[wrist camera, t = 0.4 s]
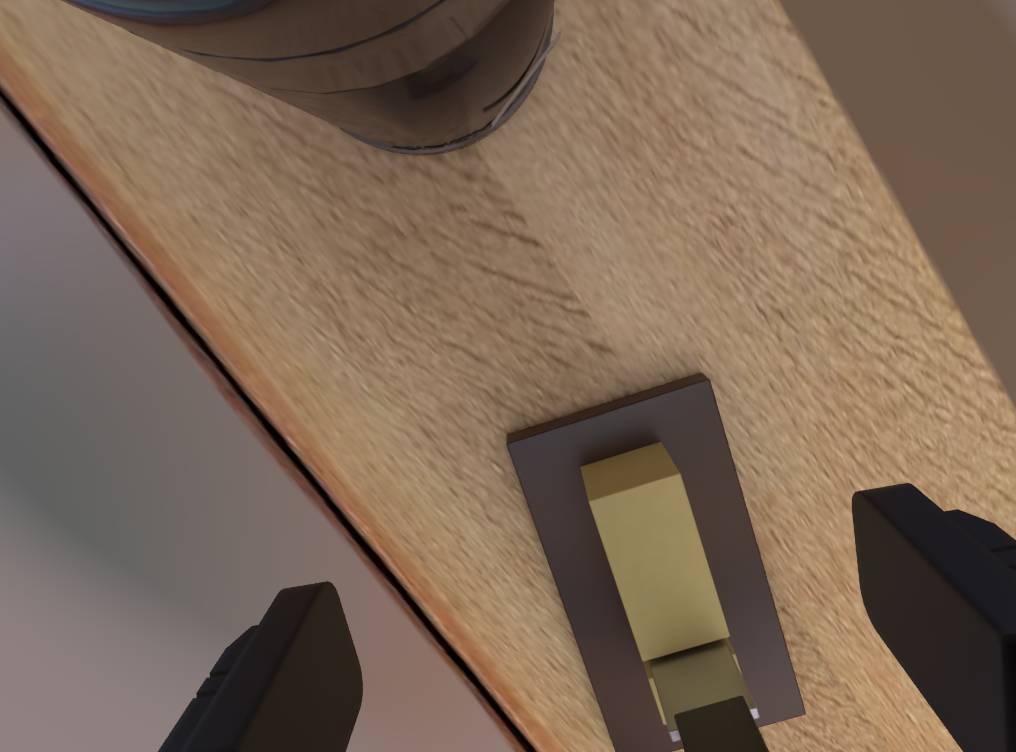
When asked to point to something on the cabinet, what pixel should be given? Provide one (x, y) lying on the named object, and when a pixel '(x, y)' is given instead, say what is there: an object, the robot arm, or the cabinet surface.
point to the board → (586, 570)
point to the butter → (654, 551)
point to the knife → (707, 700)
